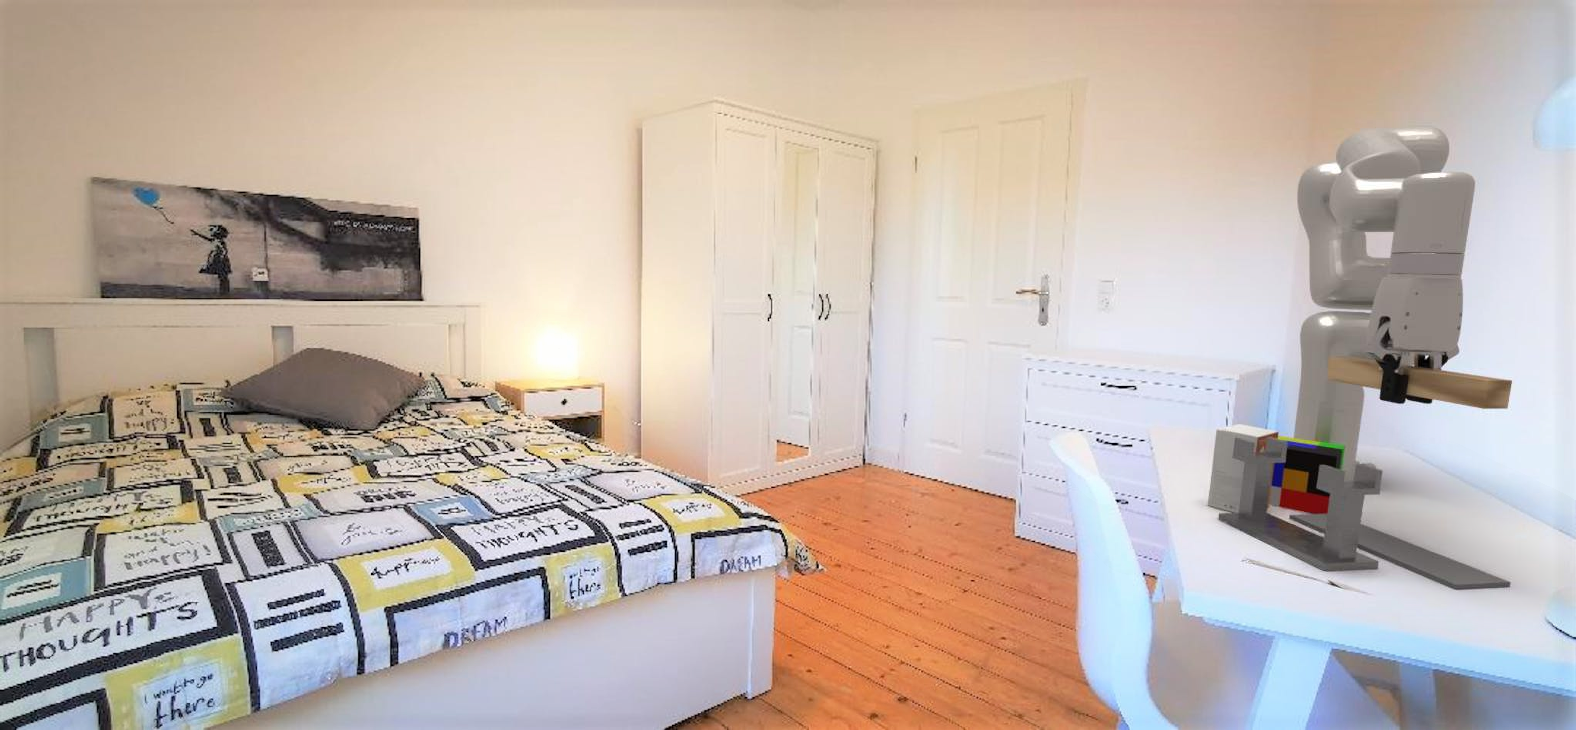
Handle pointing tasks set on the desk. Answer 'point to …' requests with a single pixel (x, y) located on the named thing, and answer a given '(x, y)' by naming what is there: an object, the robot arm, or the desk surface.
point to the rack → (1294, 540)
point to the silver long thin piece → (1305, 576)
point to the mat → (1413, 557)
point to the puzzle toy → (1304, 475)
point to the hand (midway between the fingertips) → (1405, 400)
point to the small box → (1233, 465)
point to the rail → (1427, 383)
